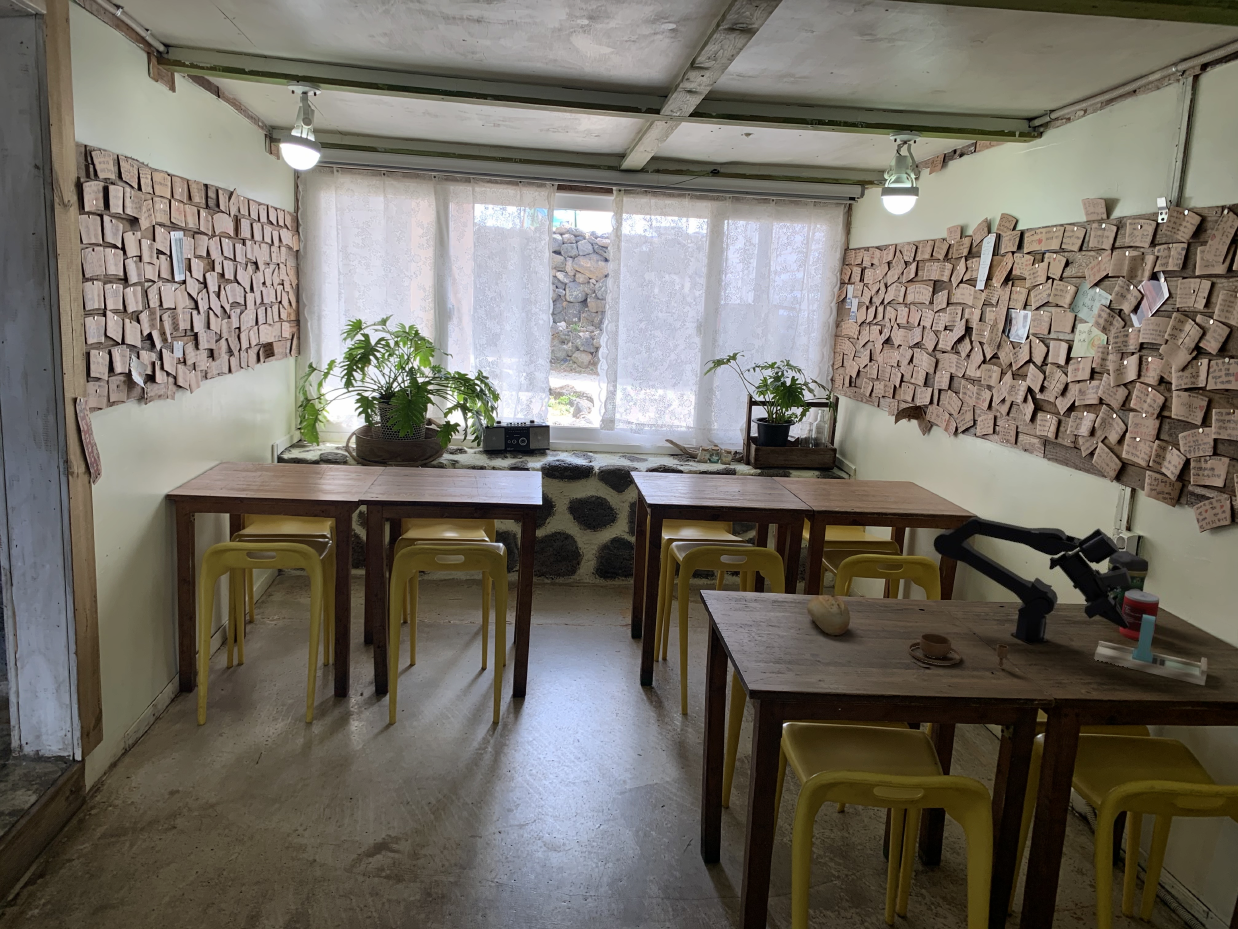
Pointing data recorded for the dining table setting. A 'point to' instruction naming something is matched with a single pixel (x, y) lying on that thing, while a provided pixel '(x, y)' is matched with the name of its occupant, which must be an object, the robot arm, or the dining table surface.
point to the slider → (1145, 640)
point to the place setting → (946, 649)
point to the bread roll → (829, 614)
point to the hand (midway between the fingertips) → (1126, 627)
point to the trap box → (1154, 663)
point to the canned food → (1138, 611)
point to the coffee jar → (1136, 573)
